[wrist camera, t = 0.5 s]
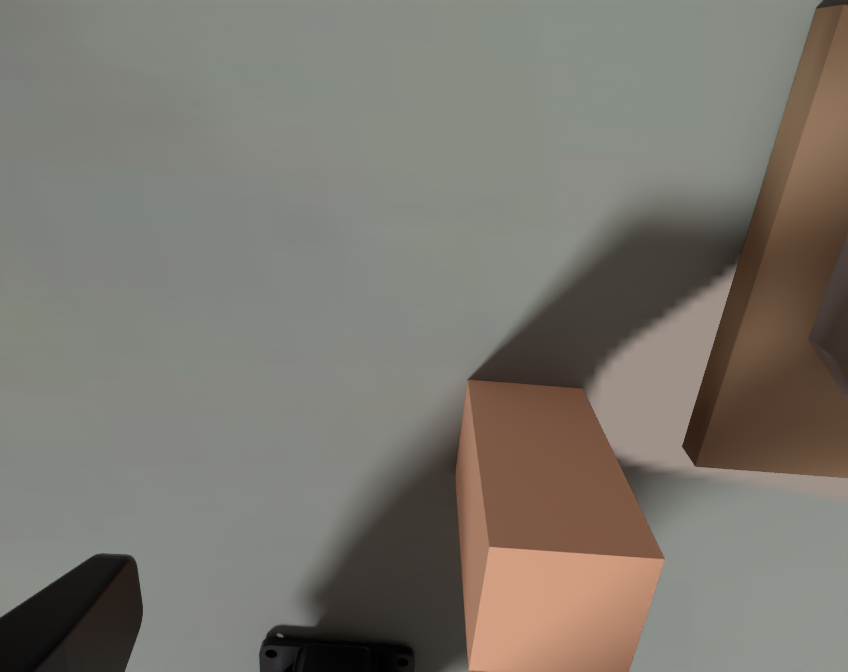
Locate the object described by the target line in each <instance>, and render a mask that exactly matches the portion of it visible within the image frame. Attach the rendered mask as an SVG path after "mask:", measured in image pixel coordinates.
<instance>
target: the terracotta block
mask: <svg viewBox="0 0 848 672" xmlns="http://www.w3.org/2000/svg"><path fill="white" fill-rule="evenodd" d="M455 480H456V494H457V509H458V523H459V538H460V552H461V567H462V582H463V596H464V611H465V625H466V640H467V654H468V669H469V670H472V671H487V672H629V670H630V667H631V664H632V661H633V657H634V654H635V651H636V648H637V645H638V642H639V639H640V636H641V633H642V629H643V626H644V623H645V620H646V617H647V614H648V611H649V608H650V605H651V601H652V598H653V595H654V592H655V589H656V586H657V583H658V580H659V576H660V573H661V570H662V567H663V564H664V561H665V558H664V556H663V554H662V552H661V550H660V548H659V546H658V544H657V542H656V540H655V538H654V536H653V533H652V531H651V529H650V527H649V525H648V523H647V521H646V519H645V517H644V515H643V513H642V511H641V509H640V506H639V504H638V502H637V500H636V498H635V496H634V494H633V492H632V490H631V488H630V486H629V484H628V482H627V479H626V477H625V475H624V473H623V471H622V469H621V467H620V465H619V463H618V461H617V459H616V457H615V455H614V453H613V450H612V448H611V446H610V444H609V442H608V440H607V438H606V436H605V434H604V432H603V430H602V428H601V426H600V424H599V421H598V419H597V417H596V415H595V413H594V411H593V409H592V407H591V405H590V403H589V401H588V399H587V397H586V394H585V392H584V390H583V389H582V388H569V387H556V386H544V385H531V384H519V383H506V382H493V381H481V380H467V388H466V396H465V403H464V411H463V419H462V426H461V434H460V442H459V449H458V457H457V465H456V472H455Z"/></svg>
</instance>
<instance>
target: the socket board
mask: <svg viewBox="0 0 848 672" xmlns="http://www.w3.org/2000/svg"><path fill="white" fill-rule="evenodd" d="M682 447H683V449H684V450H685V451H686V453H687V455H688V456H689V458H690V459H691V461H692V462H693V464H694V465H695V466H696V467H708V468H722V469H735V470H748V471H761V472H774V473H789V474H801V475H814V476H828V477H840V478H848V5H837V6H830V7H824V8H817V9H816V10H815V14H814V17H813V20H812V24H811V27H810V30H809V33H808V37H807V40H806V43H805V46H804V50H803V53H802V56H801V59H800V63H799V66H798V69H797V73H796V76H795V79H794V82H793V86H792V89H791V92H790V95H789V99H788V102H787V105H786V109H785V112H784V115H783V118H782V122H781V125H780V128H779V131H778V135H777V138H776V141H775V144H774V148H773V151H772V154H771V158H770V161H769V164H768V167H767V171H766V174H765V177H764V180H763V184H762V187H761V190H760V194H759V197H758V200H757V203H756V207H755V210H754V213H753V216H752V220H751V223H750V226H749V229H748V233H747V236H746V239H745V243H744V246H743V249H742V252H741V256H740V259H739V262H738V265H737V269H736V272H735V275H734V279H733V282H732V285H731V288H730V292H729V295H728V298H727V301H726V305H725V308H724V311H723V315H722V318H721V321H720V324H719V328H718V331H717V334H716V337H715V341H714V344H713V347H712V351H711V354H710V357H709V360H708V364H707V367H706V370H705V374H704V377H703V380H702V383H701V386H700V390H699V393H698V396H697V400H696V403H695V406H694V409H693V413H692V416H691V419H690V422H689V426H688V429H687V433H686V436H685V439H684V442H683V445H682Z"/></svg>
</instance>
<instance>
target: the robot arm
mask: <svg viewBox="0 0 848 672" xmlns="http://www.w3.org/2000/svg"><path fill="white" fill-rule="evenodd" d="M142 616H143V604H142V597H141V590H140V583H139V576H138V568H137V564H136V561H135V559H134V558H133V557H132V556H130V555H126V554H105V553H102V554H97V555H94V556H92V557H91V558H89V559H87V560H86V561H84V562H83V563H81V564H80V565H78V566H77V567H75V568H74V569H72V570H71V571H69V572H68V573H66V574H65V575H63V576H62V577H60V578H59V579H57V580H56V581H54V582H53V583H51V584H50V585H48V586H47V587H45V588H44V589H42V590H41V591H39V592H38V593H36V594H35V595H33V596H32V597H30V598H29V599H27V600H26V601H24V602H23V603H21V604H20V605H18V606H17V607H15V608H14V609H12V610H11V611H9V612H8V613H6V614H5V615H3V616H2V617H0V672H125V669H126V666H127V663H128V661H129V658H130V655H131V652H132V649H133V647H134V644H135V641H136V638H137V635H138V633H139V630H140V626H141V622H142ZM259 658H260V672H414V663H415V654H414V651H413V649H412V648H410V647H408V646H400V645H385V644H370V643H355V642H339V641H324V640H309V639H294V638H278V637H269V638H267V639H265V640H264V641H263V642H262V645H261V649H260V653H259Z"/></svg>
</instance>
